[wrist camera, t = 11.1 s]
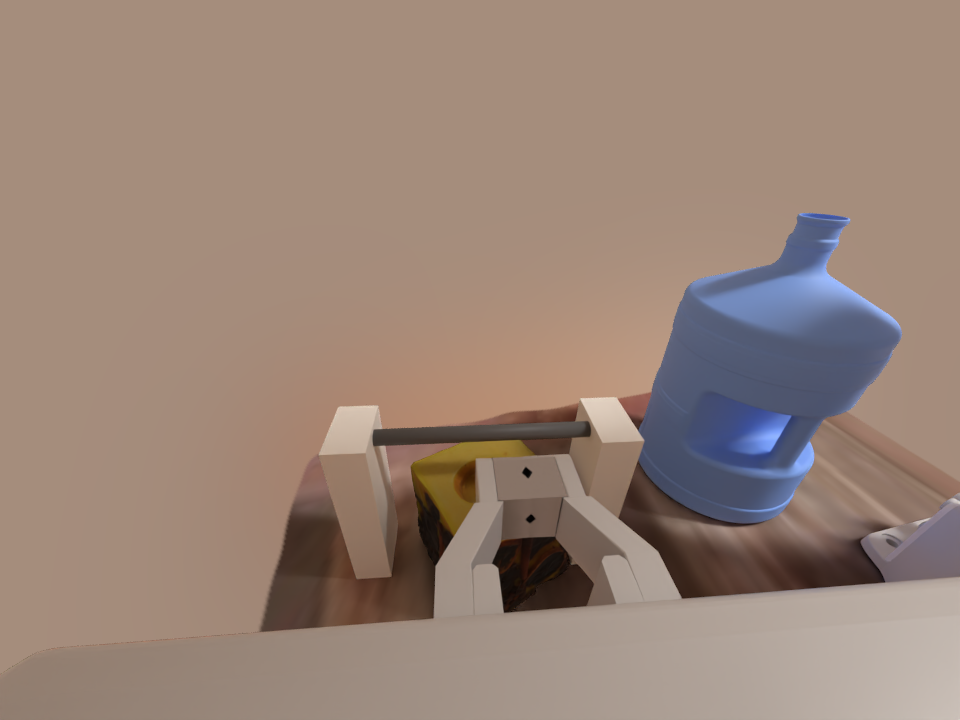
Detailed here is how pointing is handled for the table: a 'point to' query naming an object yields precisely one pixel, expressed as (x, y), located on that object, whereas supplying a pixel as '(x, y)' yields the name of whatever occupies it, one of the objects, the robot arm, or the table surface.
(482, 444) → the candle
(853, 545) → the table surface
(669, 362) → the water jug
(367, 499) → the frame
